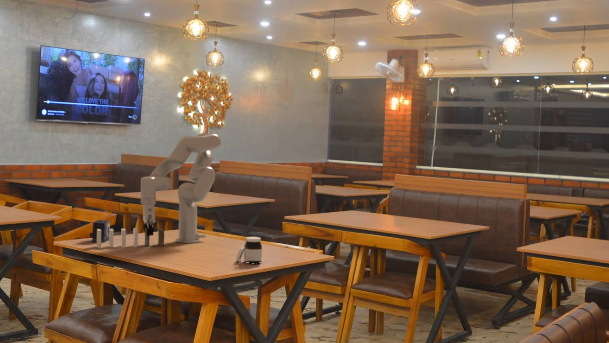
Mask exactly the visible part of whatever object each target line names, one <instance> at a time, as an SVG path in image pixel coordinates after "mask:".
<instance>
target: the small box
mask: <svg viewBox="0 0 609 343" xmlns="http://www.w3.org/2000/svg"><path fill="white" fill-rule="evenodd" d="M110 223H111V220H106V219H105V220H104V219H98V220H95V221H94V222H92V239H91V241H92V243H97V229H101V243H106V242H107V241H109V229H111V228H110V227H111V225H110Z"/></svg>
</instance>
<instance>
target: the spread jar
mask: <svg viewBox="0 0 609 343" xmlns="http://www.w3.org/2000/svg"><path fill="white" fill-rule="evenodd" d="M261 240H262V239H261V237H258V236H247V237H246V238H245V243H244V247H242V246H241V247H240V249H239V250H238V253H237V255H236V258H235V261H236V262H238V261H239V260H240V261H241V260H242V258H243V261H244V263H245V262H249V263H259V262H261V263H262V260H263V258H262V256H263V254H262V253H263V248H262V247H263V246H262V243H261ZM240 261H239V262H240Z"/></svg>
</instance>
